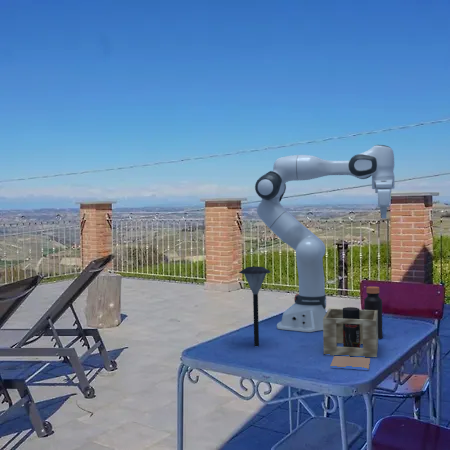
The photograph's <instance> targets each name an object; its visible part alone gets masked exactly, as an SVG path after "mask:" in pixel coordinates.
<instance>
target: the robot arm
mask: <svg viewBox="0 0 450 450" xmlns="http://www.w3.org/2000/svg"><path fill="white" fill-rule="evenodd" d="M394 170H395V153H394V150H393V148H391V147H390V146H388V145H384V144H376V145H373V146H371V148H369V149H367V150H366V151H363V152H360V153H358V154H354V155H353V156H352V157H351V158H350V159H349V160H328V159H323V158H320V157H318V156H316V155H309V154H295V155H294V154H292V155H286V156H282V157H278V158H277V159H275V161H274V163H273V170H270V171H268V172H266V173H264V174H262V175H261V176H260V177H259V178H258V179H257V180H256V182H255V184H254V185H255V186H254V189H255V193H256V194H257V196H258V197H259V198H260V199H261V202H260V203H259V204H258V205H257V208H256V215H258V217H259V219H260V220H261V221H262V222H263V223H264V224H265V226H266V227H267V228H268V229H270V230H271V231H272V232H273V234H274V235H276V236H277V237H278V238H279V240H281V241H282V242H283V243H285V244H287V245H288V246H289V247H290V248H292V250H295V255H296V258H295V259H296V266H297V267H296V268H297V274H298V293H296V294H295V295H294V297H293V298H294V303H293V304H292V305H291V306H289V307H288V308H287V309H285V311H284V312H283V314H282V317H281V321H279V322H277V324H276V328H277V330H283V331H285V330H286V331H293V332H294V331H296V332H303V333H312V332H313V333H314V332H317V331H323V318H324V316H325V314H326V313H327V309H326V307H327V296H326V292H325V291H326V290H325V284H326V282H325V273H324V272H325V271H324V263H323V257H324V256H325V254H326V245H325V243H324V242H323V240H322V239H320V237H318V236H317V235H316V234H315V233H313V232H312V231H311V230H310V229H309V228H308V227H306V226H305V225H303V223H301V222H300V221H299V220H298V219H297V218H296V217H295V216H294V215H293V214H291V213H290V212H289V211H288V210H287V209H286V208H285V207H284V206H283V205H282V204H281V201H282V198H283V197H284V195H285V193H286V190H287V184H286V183H288V182H291V181H297V182H298V181H299V182H300V181H310V180H315V179H319V178H321V177H322V178H323V177H327V176H352V177H355V178H357V179H359V180H367V179H369V178H371V189H372V190H374V191H375V192H374V193H375V194H377V205H378V206H377V207H378V208H379V209H380V219H384V220H385V219H387V212H388V208H389V207H390V202H391V194H392V189H393V190H394V189H395V173H394Z"/></svg>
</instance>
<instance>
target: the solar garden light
mask: <svg viewBox="0 0 450 450" xmlns="http://www.w3.org/2000/svg"><path fill="white" fill-rule="evenodd" d="M238 273H239V274H243V275H244V277H245V279H246V281H247V283H248V286H249V288H250V290H251V293H252V300H253V301H252V303H253V306H252V307H253V311H252V312H253V345H254V347H255V346H258V347H259V346H260V335H259V334H260V329H259V292H260V290H261V288H262V285H263V283H264V281H265V278H266V277H267V276H266V275H267V274H270V273H272V271H271V270H269V269H267V268H265V267H264V266H247V267H245V268H244V269H241V270H240V271H239V272H238Z"/></svg>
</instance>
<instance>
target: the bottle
mask: <svg viewBox="0 0 450 450" xmlns="http://www.w3.org/2000/svg"><path fill="white" fill-rule="evenodd" d="M366 295H367V296H366V297H365V298H364V300H363V301H364V303H363V305H364V307H363V308H364V309H363V310H378V340H379V339H380V340H381V339H382V338H383V335H384V334H383V300H382V298H381V297H380V296H379V295H380V287H379V286H370V285H369V286H366Z"/></svg>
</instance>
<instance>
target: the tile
mask: <svg viewBox="0 0 450 450" xmlns="http://www.w3.org/2000/svg"><path fill="white" fill-rule="evenodd" d="M369 364H371V358H365V357H350V356H334V355H333V358H332V361H331V363H330V365H329V367H330V366H337V367H346V366H352V367H362V368H363V367H364V368H367V369H369V370H370V365H369Z"/></svg>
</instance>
